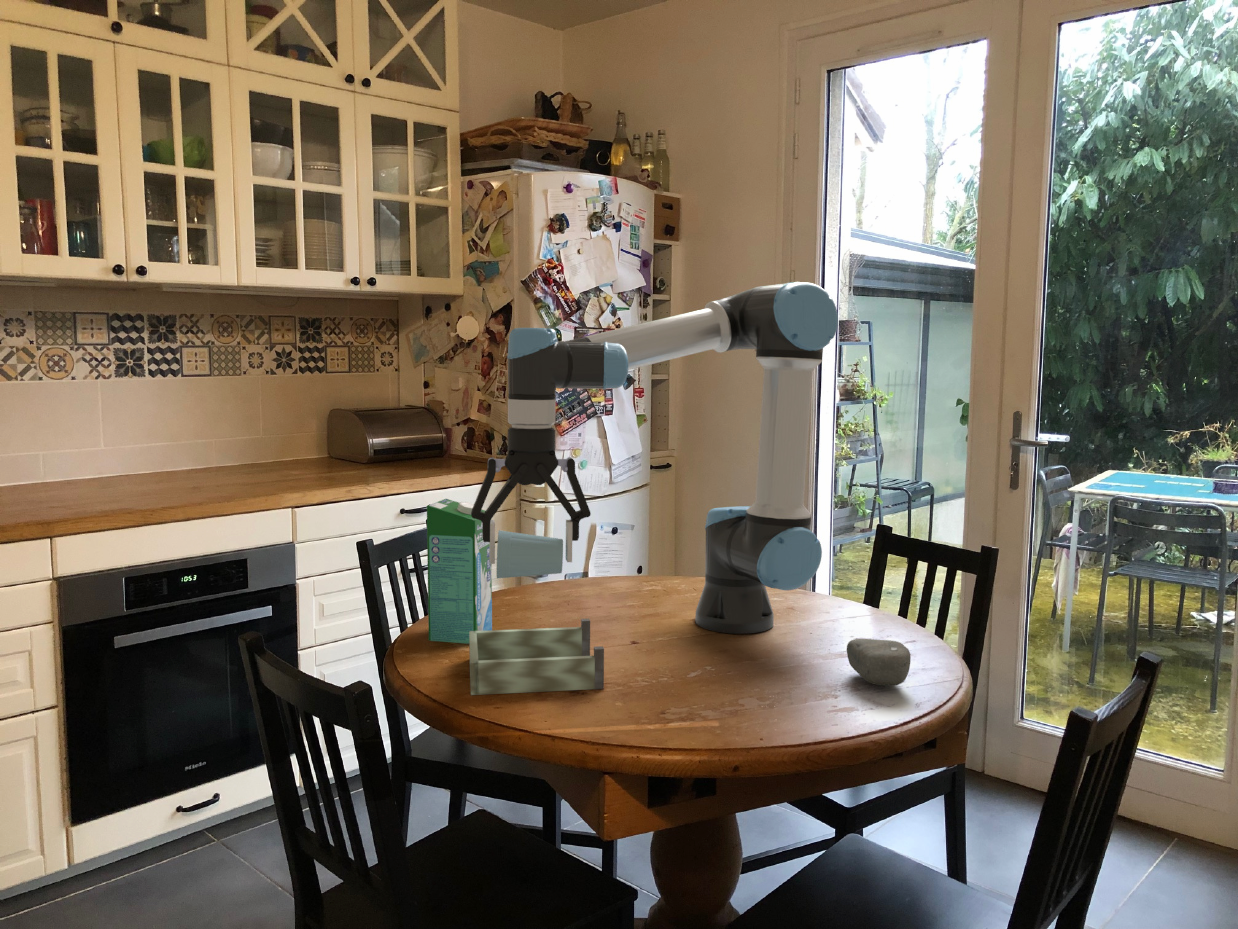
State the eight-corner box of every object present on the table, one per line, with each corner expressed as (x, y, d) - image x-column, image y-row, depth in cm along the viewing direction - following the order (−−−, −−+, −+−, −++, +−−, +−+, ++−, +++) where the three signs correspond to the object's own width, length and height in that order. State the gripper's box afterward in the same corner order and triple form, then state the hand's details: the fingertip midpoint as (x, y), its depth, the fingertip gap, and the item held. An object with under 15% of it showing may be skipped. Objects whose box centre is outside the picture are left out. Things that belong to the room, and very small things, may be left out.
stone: (897, 660, 162) (906, 620, 156) (907, 704, 155) (917, 664, 149) (842, 660, 163) (849, 620, 156) (850, 704, 156) (857, 663, 150)
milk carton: (475, 645, 174) (474, 507, 171) (428, 642, 176) (426, 505, 173) (492, 631, 183) (491, 499, 180) (446, 628, 184) (445, 497, 182)
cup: (562, 584, 153) (495, 581, 152) (560, 576, 161) (497, 574, 160) (564, 536, 153) (497, 533, 152) (562, 530, 161) (499, 528, 160)
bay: (588, 654, 169) (589, 618, 168) (603, 689, 152) (604, 649, 151) (469, 659, 165) (469, 623, 165) (470, 695, 148) (470, 654, 148)
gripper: (602, 424, 160) (600, 555, 162) (454, 424, 156) (455, 557, 158) (609, 428, 152) (607, 564, 155) (455, 427, 148) (455, 567, 151)
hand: (530, 561), depth 156 cm, fingers closed on cup, 12 cm apart
